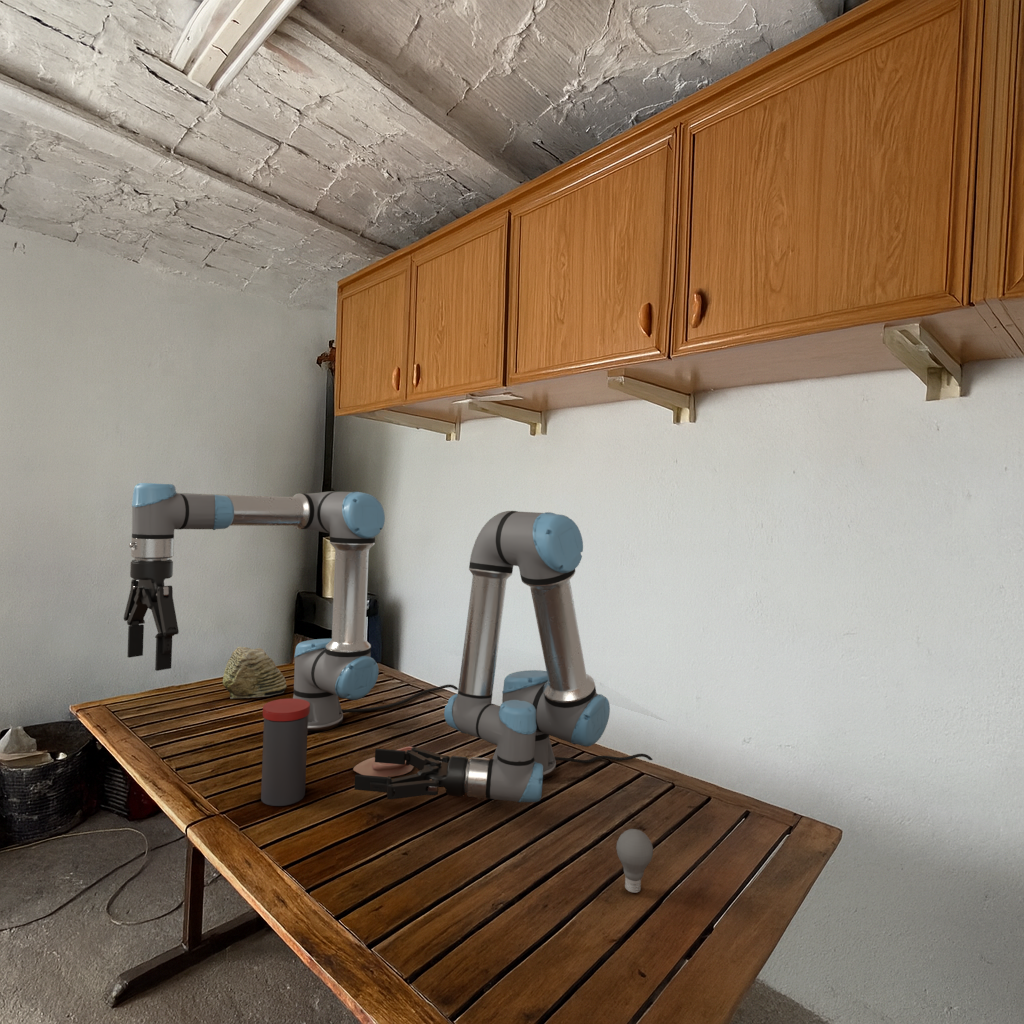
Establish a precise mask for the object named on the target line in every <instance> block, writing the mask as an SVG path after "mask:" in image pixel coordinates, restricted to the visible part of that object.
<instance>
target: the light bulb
mask: <svg viewBox="0 0 1024 1024" xmlns="http://www.w3.org/2000/svg"><path fill="white" fill-rule="evenodd" d="M615 849H616V854H617V857H618V859H619V861H620V863H621V865H622V867H623V873H624V874H623V875H624V876H625V878H624V888H625V890H627V891H628V892H630V893H634V894H635V893H639V892H640V891H641V889H642V887H641V886H642V879H643V877H644V875H645V871H646V868H647V867H648V866H649V864H650V863H651V861H652V859H653V855H654V847H653V843H652V841H651V838H649V836H648V835H647V834H646V833H645V832H643V831H642V830H641V829H636V828H629V829H627V830H625V831H623V832H622V833H621V834H620V835H619V837H618V839H617V841H616V847H615Z"/></svg>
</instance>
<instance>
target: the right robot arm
mask: <svg viewBox="0 0 1024 1024" xmlns="http://www.w3.org/2000/svg"><path fill="white" fill-rule="evenodd" d="M583 552H584V541H583V537H582V533H581V530H580V528H579V526H578V524H577V523H576V522H575V521H574V520H573V519H572V518H570V517H569V516H567V515H565V514H558V513H554V512H551V511H550V512H549V511H548V512H533V511H518V510H505V511H501V512H499V513H497V514H496V515H494V516H492V517H491V518H490V519H489V520H488V521H487V522H486V523H485V524H484V525H483V527H482V528H481V529H480V531H479V533H478V535H477V537H476V539H475V541H474V544H473V547H472V549H471V552H470V553H471V554H470V559H469V566H468V570H469V571H470V573H471V575H472V577H471V586H470V588H471V589H470V594H469V602H468V611H467V619H466V625H465V626H466V627H465V634H464V641H463V650H462V657H461V664H460V665H461V666H460V673H459V680H458V687H457V688H458V691H457V693H455V694H453V695H451V696H450V697H449V698H448V700H447V704H446V705H445V706H444V713H443V715H444V720H445V723H446V724H447V726H449V727H451V728H452V729H454V730H456V731H459V732H460V733H462V734H466V735H469V736H472V737H475V738H477V739H480V740H483V741H485V742H488V743H490V744H492V745H495V746H496V747H495V748H496V749H495V751H494V752H493V753H494V754H493V756H492V758H488V757H475V756H472V757H471V758H470V759H469V758H468V757H467V756H458V755H451V756H450V755H445V754H439V753H436V752H433V751H430V750H426V749H424V748H419V747H416V746H411V747H412V748H411V750H407V751H400V750H398V749H388V748H377V747H376V748H375V750H374V757H375V762H379V763H390V764H402V765H404V764H405V760H406V766H408V765H412V766H414V767H413V768H416V769H417V770H418V771H417V772H416V773H414V774H410V775H405V776H400V777H396V778H392V777H389V776H388V777H380V776H369V775H361V774H359V773H357V774H355V775H354V785H353V790H354V791H365V792H375V793H385V794H386V799H387V800H399V799H405V798H407V799H408V798H413V797H421V796H438V795H439V788H445V793H446V795H447V796H451V797H464V796H465V795H466V796H467V798H475V799H478V800H480V801H481V800H483V799H488V800H499V801H507V802H508V801H509V802H516V803H538V802H540V801H541V799H542V796H543V781H544V780H546V779H548V778H550V777H552V776H553V775H554V774H555V773H556V769H557V767H556V766H557V761H559V762H561V761H562V762H570V763H571V762H573V763H577V764H578V763H579V764H590V763H593V762H595V761H597V760H611V761H620V762H621V761H622V762H623V761H630V760H633V759H636V758H641V757H642V758H646V759H647V760H648V761H653V758H652V757H651V756H650V755H648V754H647V753H636V754H632V755H629V756H612V755H597V756H593V757H591V758H590V759H589V758H588V759H578V758H572V757H559V756H555V753H554V749H553V746H552V742H551V737H553V738H556V739H558V740H561V741H565V742H567V743H571V744H572V745H578V746H580V747H586V748H587V747H591V746H593V745H595V744H596V743H597V742H598V741H599V740H600V739H601V737H602V736H603V734H604V732H605V730H606V728H607V726H608V723H609V718H610V713H611V707H610V706H611V705H610V700H609V699H608V698H607V697H606V696H605V695H603V694H601V693H600V694H598V693H597V688H596V682H595V679H594V678H593V677H592V676H591V675H589V674H588V673H587V670H586V665H585V664H586V663H585V659H584V654H583V649H582V647H583V646H582V643H581V636H580V630H579V623H578V618H577V613H576V607H575V601H574V598H573V597H574V595H573V589H572V584H571V579H572V578H573V577H574V575H575V574H576V569H577V568H578V567H579V566H580V563H581V561H582V559H583V555H582V553H583ZM515 566H516V567H518V570H519V574H520V575H519V576H520V580H521V582H522V583H523V584H524V585H526V586H527V587H529V589H530V593H531V599H532V604H533V610H534V614H535V619H536V624H537V625H536V626H537V630H538V635H539V641H540V645H541V651H542V656H543V660H544V665H545V670H540V669H539V670H538V669H537V670H536V669H530V670H520V671H519V670H518V671H515V672H512V673H509V674H508V675H506V676H505V678H504V679H503V689H502V692H501V693H502V696H501V697H502V699H501V704H500V705H498V704H495V703H492V702H493V701H492V700H493V692H494V684H495V676H496V669H497V661H498V653H499V645H500V636H501V630H502V629H501V628H502V620H503V614H504V613H503V612H504V604H505V598H506V589H507V583H508V582H507V581H508V580H509V578H510V577H511V576H512V575H513V571H514V567H515Z"/></svg>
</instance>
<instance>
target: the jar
mask: <svg viewBox="0 0 1024 1024" xmlns="http://www.w3.org/2000/svg"><path fill="white" fill-rule="evenodd" d="M307 730H308V715H307V716H306V717H304V718H301V719H298V720H293V721H271V720H267V719H265V718H264V717H263V730H262V731H263V734H262V736H263V737H262V756H261V757H262V761H261V786H260V787H261V788H260V789H261V790H260V800H261V802H262V803H263V804H265V805H267V806H272V807H284V806H285V807H286V806H290V805H293V804H296V803H298V802H300V801H301V800H303V799H304V798H305V795H306V781H307V756H308V755H307V754H308V753H307V752H308V732H307Z"/></svg>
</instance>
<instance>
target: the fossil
mask: <svg viewBox="0 0 1024 1024" xmlns="http://www.w3.org/2000/svg"><path fill="white" fill-rule="evenodd" d="M222 676H223V677H222V685H223V687H224V688H225V690H226V691H228V693H229V698H230V699H250V698H264V697H271V696H275V695H281V694H284V693H285V691H286V689H287V687H288V686H287V680H286V678H285V676H284V674H283V673H282V672H281V669H279V668H278V667H277V665H276V663H275V662H274V660H273V659H272V658H271V657H270V656H269V655H268V654H267V653H266V652H265V650H264V649H263V648H260V647H258V648H251V647H247V646H246V647H245V646H238V647H237V648H236V649H235V650H233V651H232V653H231V656H230V657H229V659H228V660H227V663H226V666H225V668H224V671H223V675H222Z"/></svg>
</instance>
